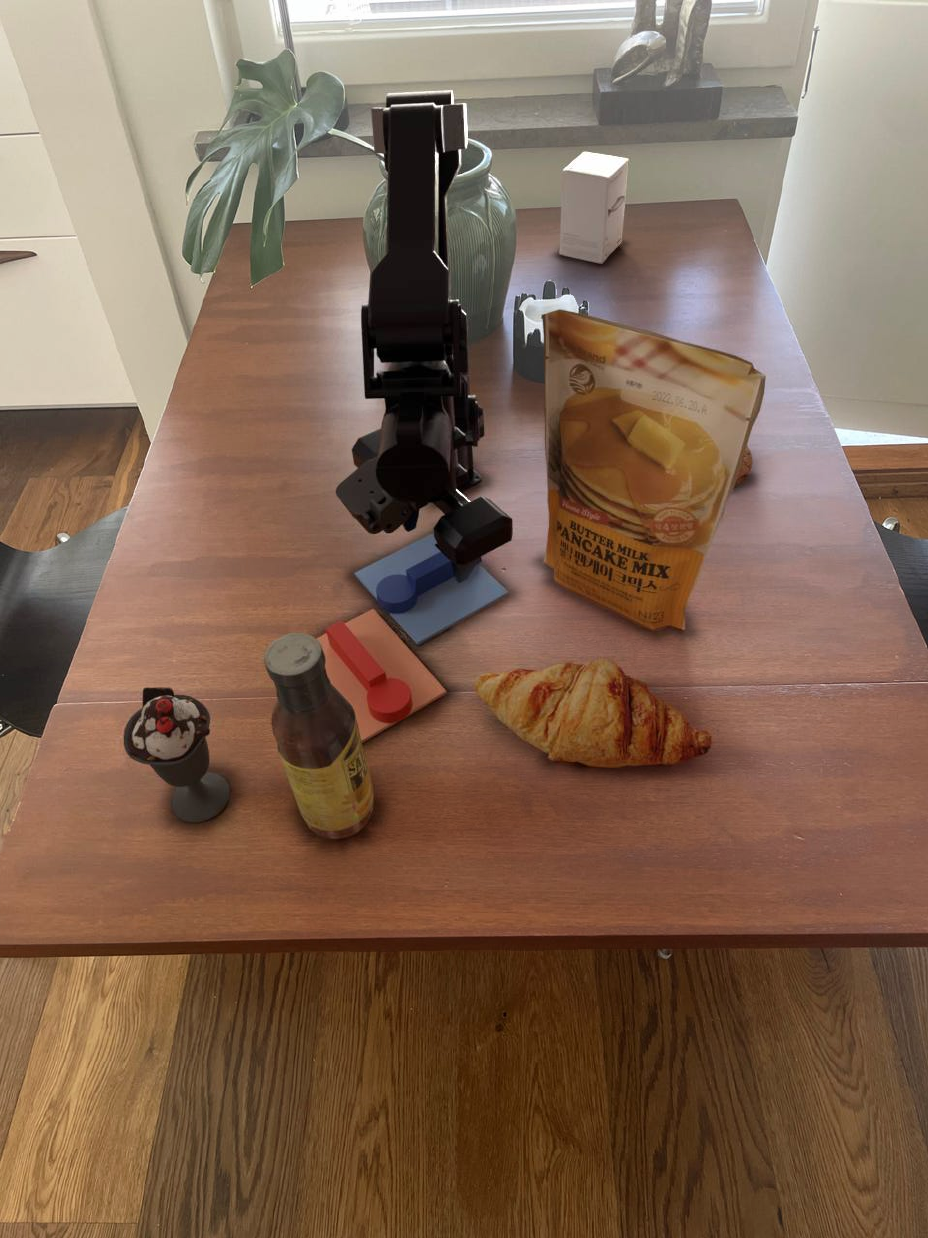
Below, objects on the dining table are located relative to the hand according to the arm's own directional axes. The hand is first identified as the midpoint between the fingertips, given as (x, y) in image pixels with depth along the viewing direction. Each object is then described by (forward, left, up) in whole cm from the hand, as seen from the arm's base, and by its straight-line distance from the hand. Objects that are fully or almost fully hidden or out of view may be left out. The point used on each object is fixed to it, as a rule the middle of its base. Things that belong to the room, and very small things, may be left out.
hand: (435, 554), depth 92 cm
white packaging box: (-58, -44, -4) cm, 73 cm away
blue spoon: (0, 0, -4) cm, 4 cm away
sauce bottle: (+21, +17, -4) cm, 28 cm away
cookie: (-35, +3, -4) cm, 35 cm away
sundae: (+30, +9, -4) cm, 32 cm away
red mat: (+12, +6, -4) cm, 14 cm away
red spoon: (+12, +6, -4) cm, 14 cm away
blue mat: (+1, 0, -4) cm, 4 cm away
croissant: (-1, +23, -4) cm, 23 cm away
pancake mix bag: (-14, +12, -4) cm, 19 cm away
